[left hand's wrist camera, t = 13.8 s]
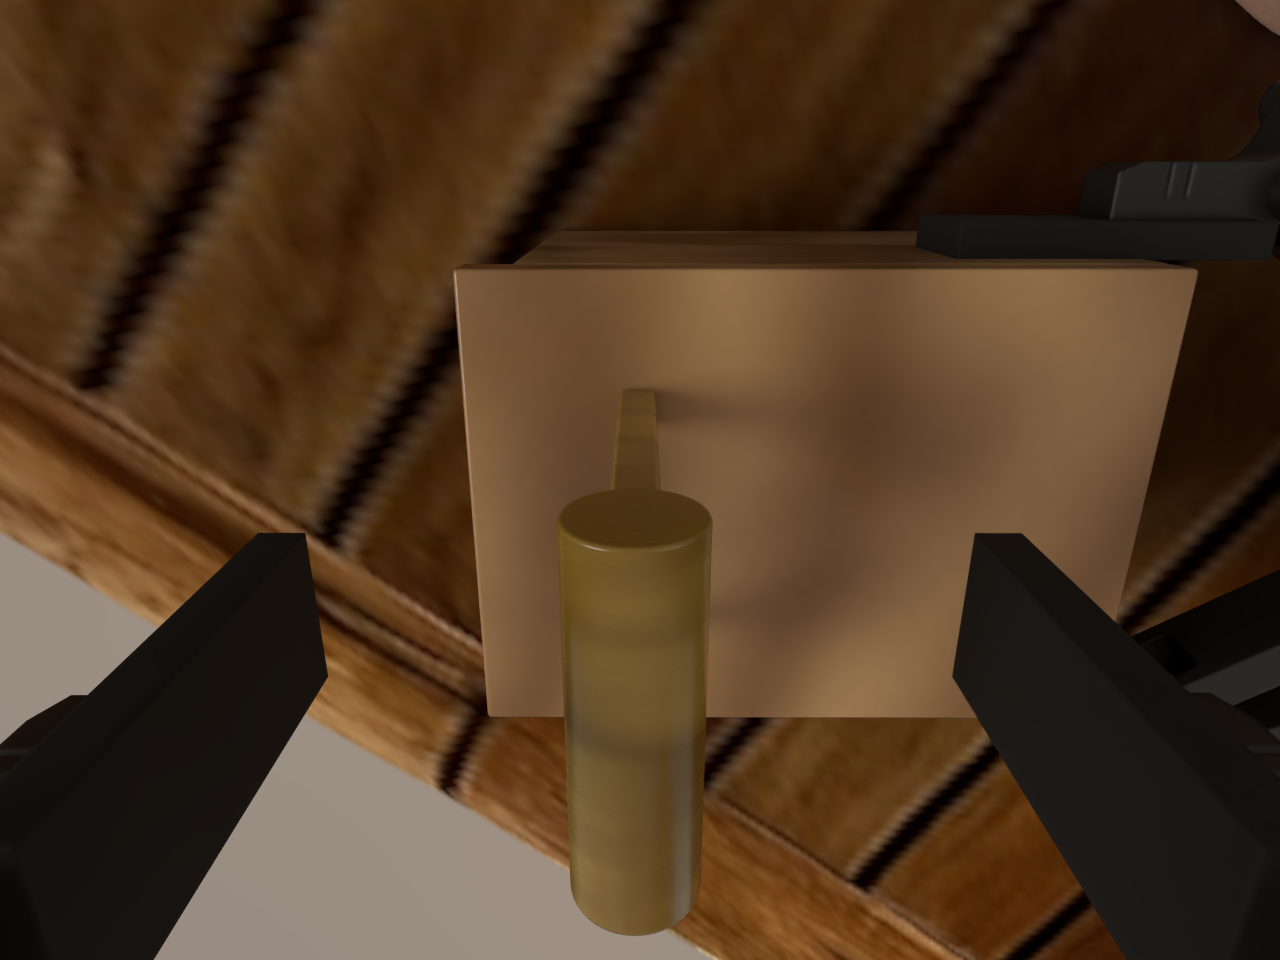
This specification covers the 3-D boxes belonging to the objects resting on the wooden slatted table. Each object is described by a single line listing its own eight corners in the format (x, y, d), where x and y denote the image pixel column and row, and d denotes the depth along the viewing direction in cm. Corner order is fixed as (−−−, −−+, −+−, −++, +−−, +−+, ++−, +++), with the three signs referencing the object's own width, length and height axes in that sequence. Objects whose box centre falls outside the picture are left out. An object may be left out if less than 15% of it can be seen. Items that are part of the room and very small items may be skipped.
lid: (493, 695, 20) (394, 1046, 12) (460, 263, 16) (286, 355, 8) (1076, 696, 20) (1366, 1050, 12) (1173, 263, 16) (1686, 354, 8)
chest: (567, 535, 28) (534, 694, 20) (556, 230, 25) (511, 263, 16) (943, 535, 28) (1074, 695, 20) (988, 230, 25) (1172, 263, 16)
